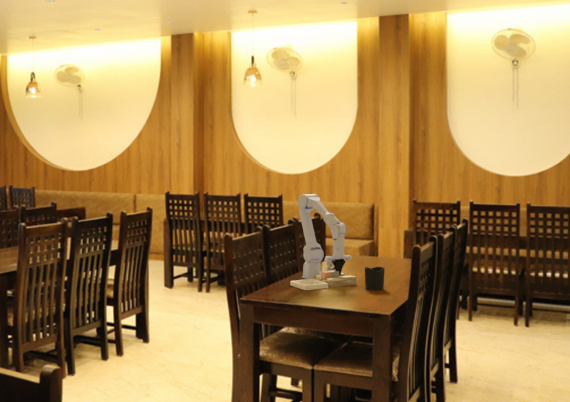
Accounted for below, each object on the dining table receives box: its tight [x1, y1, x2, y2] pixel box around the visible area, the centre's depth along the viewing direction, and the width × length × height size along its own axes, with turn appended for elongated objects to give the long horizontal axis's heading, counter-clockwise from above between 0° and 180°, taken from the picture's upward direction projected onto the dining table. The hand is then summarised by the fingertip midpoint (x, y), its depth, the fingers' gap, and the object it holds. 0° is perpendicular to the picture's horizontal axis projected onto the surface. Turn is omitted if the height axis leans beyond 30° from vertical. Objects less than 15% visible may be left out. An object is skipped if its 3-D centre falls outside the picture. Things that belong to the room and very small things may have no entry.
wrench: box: [324, 255, 334, 271], centre depth 369 cm, size 8×2×30 cm
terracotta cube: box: [320, 270, 332, 280], centre depth 316 cm, size 4×4×4 cm
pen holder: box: [364, 266, 385, 291], centre depth 307 cm, size 9×9×10 cm
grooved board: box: [314, 272, 357, 289], centre depth 319 cm, size 14×16×4 cm
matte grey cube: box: [329, 269, 339, 277], centre depth 318 cm, size 4×4×4 cm
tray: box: [290, 278, 328, 291], centre depth 312 cm, size 14×13×2 cm
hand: (338, 274), depth 320 cm, fingers closed
